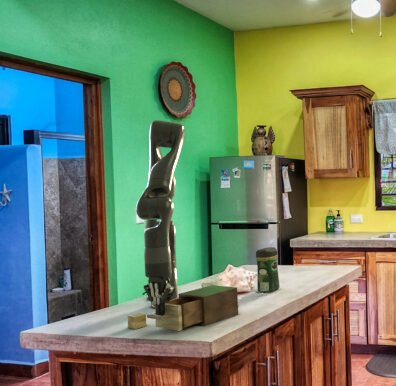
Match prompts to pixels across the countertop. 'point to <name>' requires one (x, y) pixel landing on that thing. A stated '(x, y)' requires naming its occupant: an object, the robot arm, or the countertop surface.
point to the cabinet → (215, 302)
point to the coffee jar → (267, 269)
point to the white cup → (212, 282)
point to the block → (136, 320)
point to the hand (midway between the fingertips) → (160, 315)
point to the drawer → (179, 313)
